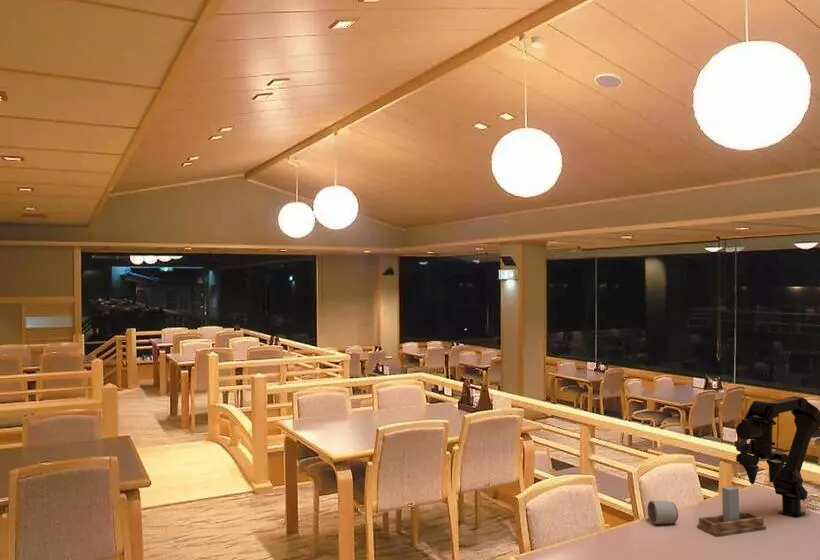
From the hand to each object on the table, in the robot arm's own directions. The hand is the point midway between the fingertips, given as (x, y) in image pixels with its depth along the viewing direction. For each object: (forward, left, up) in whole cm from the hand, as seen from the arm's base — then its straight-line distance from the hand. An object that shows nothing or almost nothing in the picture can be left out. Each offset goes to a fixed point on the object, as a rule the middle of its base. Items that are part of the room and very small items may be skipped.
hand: (761, 483), depth 226 cm
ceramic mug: (+28, -21, -13) cm, 37 cm away
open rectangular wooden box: (+16, -3, -13) cm, 20 cm away
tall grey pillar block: (+16, -3, -12) cm, 20 cm away
